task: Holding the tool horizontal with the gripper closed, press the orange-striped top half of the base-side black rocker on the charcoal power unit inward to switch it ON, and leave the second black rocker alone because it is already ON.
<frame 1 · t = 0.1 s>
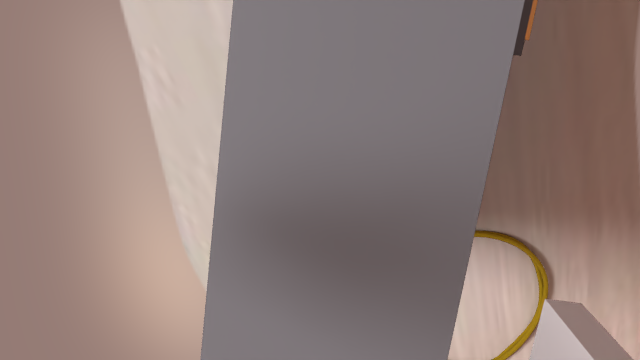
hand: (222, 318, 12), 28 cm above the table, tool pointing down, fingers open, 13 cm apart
power unit: (342, 63, 38), on the table
extension cord: (440, 308, 43), on the table
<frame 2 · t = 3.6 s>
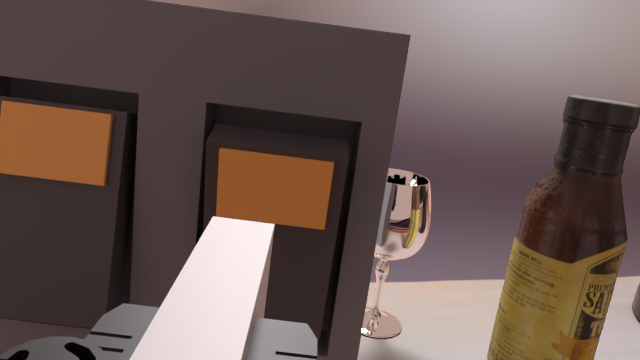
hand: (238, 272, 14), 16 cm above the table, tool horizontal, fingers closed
wineglass: (372, 324, 45), on the table
rocker a: (270, 239, 27), point 12 cm above the table, hinge at -12.0°
rocker b: (57, 211, 27), point 12 cm above the table, hinge at 12.0°
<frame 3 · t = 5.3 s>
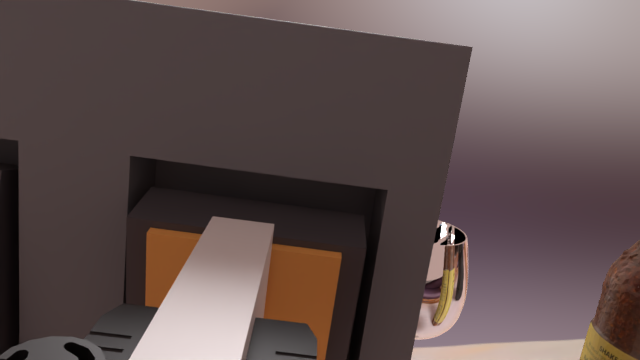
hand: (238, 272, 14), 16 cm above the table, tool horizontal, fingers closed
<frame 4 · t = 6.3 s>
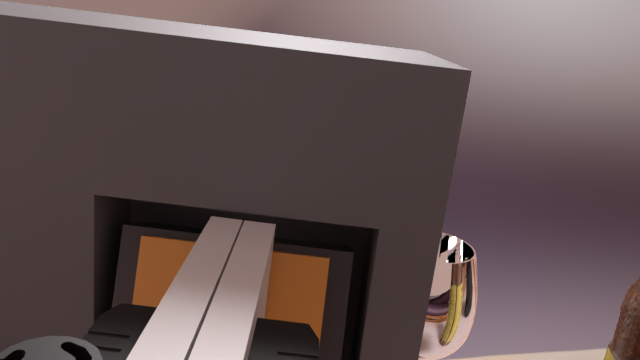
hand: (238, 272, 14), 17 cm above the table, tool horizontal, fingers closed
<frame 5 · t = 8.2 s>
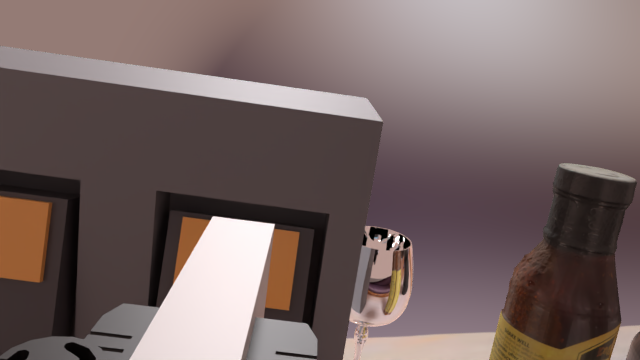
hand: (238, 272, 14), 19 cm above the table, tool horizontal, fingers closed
rocker a: (228, 336, 24), point 12 cm above the table, hinge at 17.8°
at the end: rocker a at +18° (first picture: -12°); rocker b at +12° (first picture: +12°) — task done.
